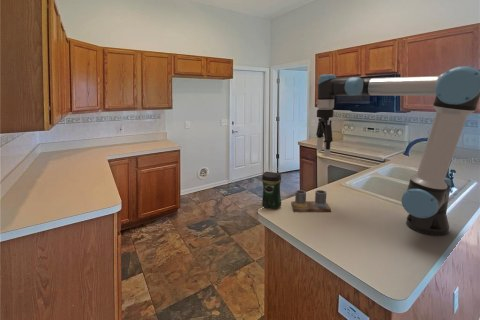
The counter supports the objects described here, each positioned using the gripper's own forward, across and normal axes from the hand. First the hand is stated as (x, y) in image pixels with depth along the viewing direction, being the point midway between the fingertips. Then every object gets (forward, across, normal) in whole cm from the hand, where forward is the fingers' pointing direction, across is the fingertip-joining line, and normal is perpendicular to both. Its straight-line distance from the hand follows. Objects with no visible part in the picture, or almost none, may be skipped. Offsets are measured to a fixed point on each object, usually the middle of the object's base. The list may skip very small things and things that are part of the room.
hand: (323, 153), depth 131 cm
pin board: (+29, 0, -5) cm, 29 cm away
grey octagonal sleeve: (+27, 0, 0) cm, 27 cm away
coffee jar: (+29, -2, -25) cm, 38 cm away
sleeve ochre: (+27, 0, -10) cm, 29 cm away
